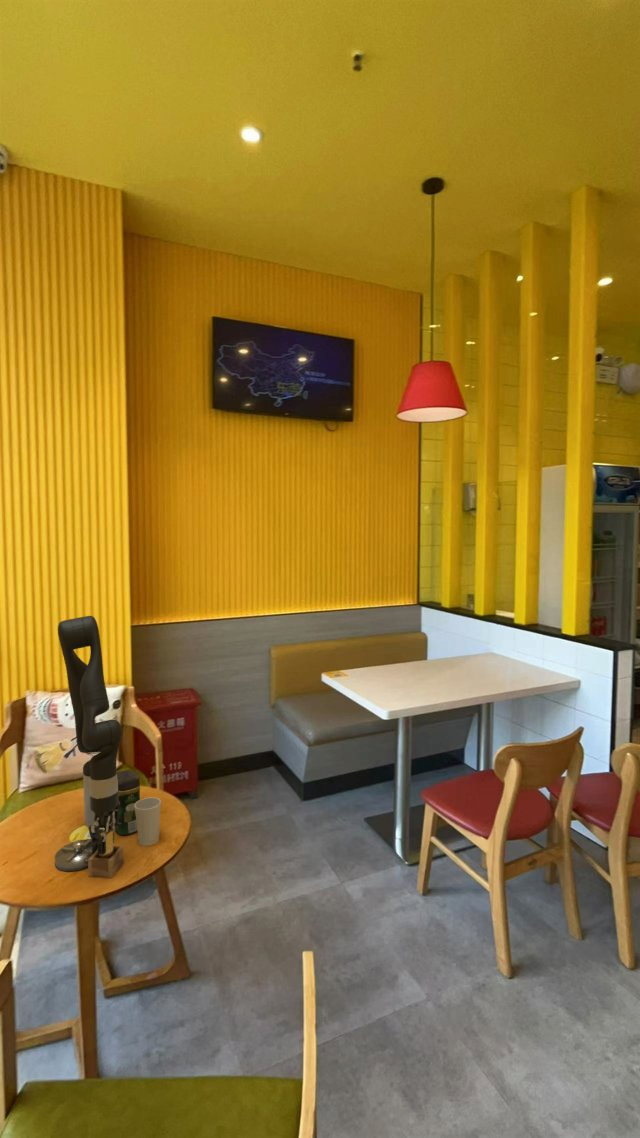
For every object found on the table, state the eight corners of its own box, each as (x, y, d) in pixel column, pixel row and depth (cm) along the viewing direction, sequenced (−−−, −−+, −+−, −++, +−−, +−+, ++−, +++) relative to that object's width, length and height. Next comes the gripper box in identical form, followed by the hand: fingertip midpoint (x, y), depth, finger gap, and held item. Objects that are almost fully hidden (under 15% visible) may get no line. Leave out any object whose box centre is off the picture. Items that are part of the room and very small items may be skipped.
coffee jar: (111, 826, 177) (109, 771, 176) (135, 818, 182) (133, 765, 181) (119, 839, 169) (117, 782, 169) (144, 831, 174) (142, 775, 173)
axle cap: (77, 845, 161) (77, 839, 160) (86, 846, 160) (86, 839, 160) (71, 851, 158) (71, 845, 157) (81, 851, 157) (80, 845, 157)
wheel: (45, 868, 154) (44, 841, 153) (73, 843, 167) (72, 818, 166) (86, 873, 151) (85, 845, 151) (112, 847, 164) (111, 822, 164)
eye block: (101, 862, 157) (100, 845, 157) (124, 863, 156) (123, 846, 156) (88, 876, 150) (88, 859, 150) (112, 878, 149) (111, 860, 149)
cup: (131, 840, 169) (129, 803, 168) (154, 830, 174) (153, 794, 174) (142, 850, 163) (141, 812, 162) (166, 840, 169) (165, 803, 168)
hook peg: (103, 865, 156) (102, 828, 155) (116, 866, 155) (115, 829, 155) (96, 873, 152) (95, 836, 151) (109, 874, 151) (108, 836, 151)
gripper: (104, 779, 160) (106, 835, 161) (77, 802, 146) (79, 863, 146) (128, 780, 159) (129, 836, 160) (103, 803, 145) (105, 864, 146)
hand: (105, 848), depth 153 cm, fingers closed on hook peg, 4 cm apart
